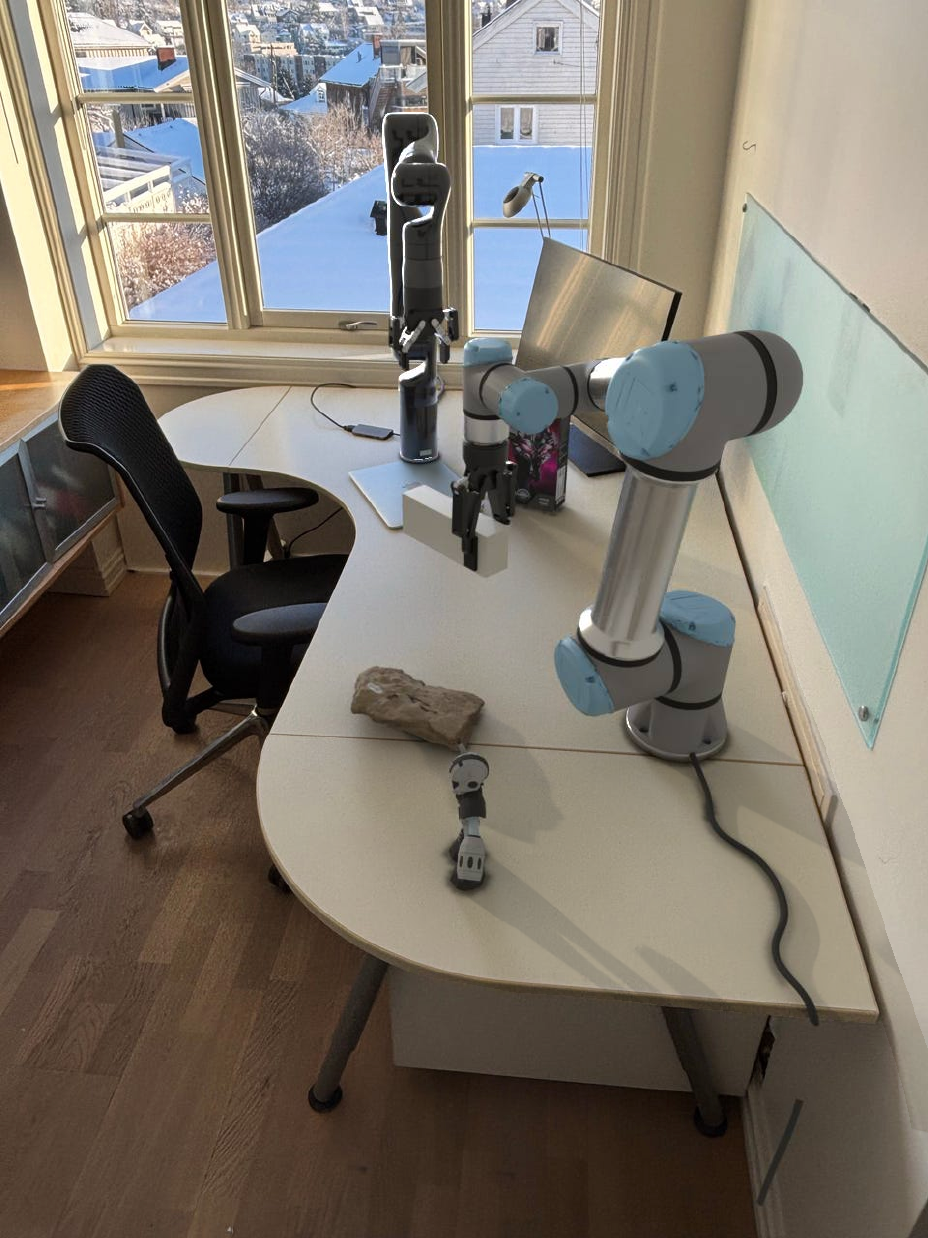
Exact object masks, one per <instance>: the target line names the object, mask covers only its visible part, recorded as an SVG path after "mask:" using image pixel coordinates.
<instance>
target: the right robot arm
mask: <svg viewBox="0 0 928 1238" xmlns="http://www.w3.org/2000/svg"><path fill="white" fill-rule="evenodd" d="M462 359H463V361H462V365H461V369H462V436H463V438H462V440H461V442H462V443H461V444H462V445H461V446H462V449H461V450H462V452H461V453H462V454H461V455H462V456H461V457H462V460H463V463H464V465H465V468H464V471H463V475H462V478H460V479H459V480H457V481H456V480H451V482H450V485H449V487H450V489H451V493H452V499H453V502H452V534H454V535H456V536H458V537H460V538H462V547H461V550H462V552H463V553H464V566H465V567H464V566H463V567H464V568H466V567H467V568H466V569H468V570H469V569H470V570H469V571H471V570H472V571H471V572H473V571H474V572H473V573H475V571H477V566H478V537H477V536H475V530H476V526H477V521H478V517H479V512H480V513H481V508H482V503H483V501H485V500H486V495H487V497H488V502H489V507H490V510H491V515H492V519H494V520H496V521H498V522H500V523H502V524H504V525H506V526H508V527H509V526H510V524H511V523H512V522H511V519H509V518H514V517H515V514H516V503H515V485H516V474H517V470H518V464H515V463H513V462H511V461H508V454H509V439H508V437H509V429H510V426H511V427H513V428H516V429H517V430H519V431H521V432H523V433H526V434H537V433H540V432H542V431H543V430H544V429H545V428H547V427H548V426H550V425H551V424H552V422H553V421H554V419H557V418H562V417H567V416H571V417H572V416H576V415H581V414H582V415H583V414H589V413H605V415H606V416H607V417H608V422H607V423H606V427H607V431H608V434H609V436H610V439H611V441H612V443H613V445H614V446H615V447H616V448H617V453H618V456H619V458H620V459H621V461H622V462H623V463H624V464H625V466H626V468H625V472H624V476H623V481H622V485H621V489H620V493H619V498H618V502H617V505H616V510H615V513H614V514H615V515H614V518H613V524H612V527H611V532H610V536H609V540H608V543H607V545H608V546H607V548H606V553H605V557H604V562H603V566H602V570H601V575H600V579H599V583H598V587H597V591H596V596H595V601H594V603H593V604H590V605H589V606H587V607H586V608H584V610H583V611H582V613H581V614H580V617H579V619H578V624H577V628H576V632H575V634H574V635H573V636H566V637H564V638H562V639H560V640H559V641H557V643H556V644H555V647H554V651H553V662H554V668H555V672H556V675H557V679H558V680H559V683H560V686H561V688H562V690H563V692H564V694H565V696H566V697H567V699H568V700H569V702H570V703H571V705H572V706H573V707H574V708H575V709H576V710H577V711H578V712H579V713H581V714H582V715H584V716H587V717H593V718H596V717H600V716H603V715H607V714H608V715H612V714H614V713H615V712H618V711H622V710H624V709H627V711H626V719H625V728H626V732H627V734H628V736H629V738H630V739H631V741H632V742H634V744H636V745H637V746H638V747H639V748H640V749H641V750H643V751H645V752H646V753H648V754H650V755H651V756H654V757H656V758H659V759H662V760H666V761H670V762H675V763H692V765H693V768H694V770H695V773H696V775H697V778H698V781H699V784H701V788H702V790H703V794H704V796H705V804H706V812H707V817H708V821H709V823H710V825H711V827H712V829H713V830H714V831H715V833H716V834H717V835H718V836H719V837H720V838H721V839H722V840H723V841H724V842H726V843H727V844H728V845H730V846H732V847H733V848H735V849H737V850H738V851H740V852H741V853H743V854H745V855H746V856H747V857H749V858H750V859H752V860H753V861H754V862H755V863H756V864H757V865H758V866H759V867H760V869H762V870H763V872H764V873H765V874H766V876H767V877H768V878H769V880H770V882H771V884H772V885H773V887H774V890H775V892H776V896H777V898H778V902H779V906H780V908H779V909H780V917H779V921H778V923H777V927H776V929H775V931H774V933H773V937H772V941H771V955H772V959H773V961H774V964H775V966H776V968H777V970H778V971H779V973H780V974H781V975H782V977H783V978H784V979H785V980H786V981H787V982H788V984H789V985H790V986H791V987H792V988H793V989H794V990H795V991H796V993H797V994H798V995H799V997H800V998H801V999H802V1001H803V1003H804V1005H805V1007H806V1010H807V1012H808V1016H809V1021H810V1024H811V1025H812V1026H814V1027H816V1028H817V1027H819V1026H820V1021H819V1016H818V1012H817V1009H816V1006H815V1004H814V1002H813V1000H812V997H811V996H810V995H809V993H808V991H807V990H806V989H805V988H804V987H803V985H802V984H801V983H800V982H799V981H798V980H797V978H796V977H795V976H794V975H793V974H792V973H791V972H790V971H789V970H788V968H787V967H786V965H785V963H784V962H783V959H782V957H781V951H780V947H781V940H782V937H783V934H784V932H785V929H786V927H787V924H788V920H789V907H788V902H787V897H786V894H785V892H784V889H783V886H782V884H781V882H780V880H779V879H778V877H777V875H776V874H775V872H774V871H773V870H772V868H771V867H770V866H769V864H768V863H767V862H766V861H765V860H764V859H763V858H762V857H761V856H760V855H759V854H758V853H756V852H755V851H754V850H752V849H750V847H748V846H746V845H744V844H742V843H741V842H739V841H738V840H736V839H734V838H733V837H732V836H731V835H729V834H728V833H727V832H726V831H724V830H723V829H722V827H721V826H720V825H719V822H718V821H717V818H716V816H715V810H714V802H713V796H712V792H711V790H710V787H709V784H708V782H707V780H706V777H705V774H704V772H703V770H702V767H701V765H700V763H699V762H700V761H703V760H706V759H709V758H711V757H714V755H716V754H718V752H720V751H721V750H722V748H723V747H724V744H725V743H726V740H727V739H726V738H727V733H728V721H727V716H726V712H725V708H724V707H725V706H724V701H723V692H724V686H725V682H726V678H727V674H728V669H729V664H730V661H731V655H732V652H733V647H734V644H735V642H736V637H735V632H736V627H737V626H736V625H737V624H736V617H735V615H734V614H733V612H732V610H731V609H730V608H729V607H728V606H727V605H726V604H724V603H723V602H722V601H720V600H719V599H717V598H715V597H712V596H710V595H708V594H705V593H702V592H698V591H695V590H688V589H673V590H668V588H669V586H670V581H671V579H672V575H673V572H674V569H675V565H676V562H677V558H678V556H679V551H680V548H681V545H682V541H683V538H684V536H685V532H686V529H687V525H688V522H689V518H690V516H691V512H692V508H693V505H694V501H695V498H696V495H697V492H698V490H699V485H700V483H702V482H704V481H706V480H709V479H711V478H712V477H713V476H714V475H715V474H716V473H717V471H718V468H719V465H720V462H721V459H722V458H723V457H722V456H723V454H724V450H725V447H726V445H727V444H728V442H729V441H734V440H739V439H742V438H747V437H751V436H755V435H759V434H763V433H764V432H766V431H769V430H772V429H773V428H775V427H776V426H778V425H780V423H782V422H783V421H784V420H785V419H786V418H787V417H788V416H789V415H790V414H791V413H792V412H793V410H794V409H795V407H796V406H797V404H798V402H799V399H800V397H801V394H802V392H803V386H804V371H803V370H804V369H803V364H802V362H801V359H800V357H799V355H798V353H797V351H796V350H795V348H794V347H793V346H792V345H791V344H790V343H789V342H788V341H787V340H786V339H784V338H783V336H780V335H778V334H776V333H774V332H770V331H767V330H761V329H743V330H737V331H733V332H726V333H720V334H714V335H713V334H712V335H709V336H708V335H707V336H702V337H695V338H690V339H683V340H680V339H679V340H678V339H672V340H671V339H669V340H664V341H660V342H657V343H655V344H653V345H649V346H645V347H641V348H638V349H636V350H635V351H633V352H632V353H629V354H628V355H627V356H625V357H603V358H597V359H594V360H588V361H582V362H577V363H572V364H571V363H570V364H565V365H559V366H558V365H557V366H552V367H544V368H539V369H533V370H523V369H521V368H519V367H518V366H516V365H514V364H513V360H514V356H513V346H512V345H511V343H510V342H509V341H508V340H506V339H503V338H500V337H493V336H482V337H476V338H473V339H471V340H469V341H467V342H466V343H465V345H464V347H463V357H462ZM804 1102H805V1101H804V1100H802V1099H798V1098H795V1100H794V1104H793V1106H792V1110H791V1112H790V1116H789V1118H788V1122H787V1124H786V1127H785V1129H784V1131H783V1135H782V1137H781V1139H780V1142H779V1144H778V1146H777V1148H776V1151H775V1153H774V1156H773V1158H772V1161H771V1163H770V1165H769V1168H768V1170H767V1172H766V1175H765V1177H764V1180H763V1182H762V1185H761V1188H760V1190H759V1193H758V1196H757V1198H756V1204H757V1205H758V1206H759V1207H762V1206H764V1203H765V1201H766V1198H767V1195H768V1192H769V1190H770V1188H771V1185H772V1182H773V1180H774V1178H775V1175H776V1173H777V1172H778V1171H777V1170H778V1169H779V1166H780V1164H781V1162H782V1159H783V1157H784V1155H785V1153H786V1150H787V1148H788V1146H789V1144H790V1141H791V1139H792V1136H793V1133H794V1131H795V1128H796V1126H797V1123H798V1120H799V1118H800V1114H801V1111H802V1108H803V1105H804Z"/></svg>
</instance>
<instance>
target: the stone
mask: <svg viewBox="0 0 928 1238" xmlns="http://www.w3.org/2000/svg"><path fill="white" fill-rule="evenodd" d="M353 688H354V693H353V695H352V701H351V703H350V708H349V709H350V710H349V711H350V713H351V714H353V715H357V714H358V715H364V716H367V717H369V719H371V721H372V722H373V723H375V724H379V725H386V726H387V728H391V729H393V730H400V731H403V732H405V733H407V734H409V735H413V736H416V737H419V738H422V739H423V740H425V741H426V742H429V743H432V744H439V745H443V746H446V747H447V748H449V749H450V750H452V751H455V752H461V751H460V748H459V746H458V743H457V740H458V739H460V740H461V742H462V744H463V745H464V747H465V748H466V747H467V745H468V742H469V741H470V738H471V736H472V729H473V727H474V725H475V723H476V721H477V719H478V716H479V715H480V713H481V709H482V708H483V707H484V706H485V704H486V702H485V700H483V699H482V697H479V696H478V695H476V694H474V693H472V692H469V691H465V690H462V691H461V690H456V689H451V688H446V687H443V686H439V685H438V686H437V685H428V684H426V683H425V682H424V681H423V680H422V679H416V678H414V677H412V676H411V674H407V672H405V671H404V670H403V669H402V668H394V667H390V666H389V667H388V666H387V667H384V666H378V665H374V666H371V667H369V668H367V669H365V670H363V671H362V672H361V673H359V674H358V675H357V677H356V680H355V683H354V687H353Z"/></svg>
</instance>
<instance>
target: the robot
mask: <svg viewBox="0 0 928 1238" xmlns="http://www.w3.org/2000/svg"><path fill="white" fill-rule="evenodd" d="M457 743H458V746H459V748H460V751H459V752H460V753H461V754H460V755H458V756H457V757H455V758H454V759H453V760H452V761H451V763H450V764H449V767H448V773H449V774H448V775H449V779H450V780H451V791H452V793H453V794H454V795H455V796H454V797H455V799H456V801H457V803H458V805H459V806H458V807H457V808H458V809H457V810H458V820H459V821H460V823H461V825H462V826H461V830H460V831H459V833H458V836H457V838H456V839H455V841H454V842H453V843H452V845H451V846H450V848H449V850H448V853H449V855H450V857H451V859H452V861H455V862H456V864H455V866H454V868H453V871H452V873H451V876H450V882H451V883H452V884H453V885H454V887H456V888H457V889H459V890H464V891H467V890H468V891H469V890H473V889H475V888H477V887H480V886H482V885H483V883H484V880H485V877H486V873H485V859H486V846H485V842H484V838H482V837H481V835H480V830H479V829H480V824H481V822H480V821H481V820H480V818H482V819H487V806H486V805H487V803H486V800H485V797H484V794H483V793H484V792H483V786H484V783H485V780H487V779H488V777H489V775H490V766H489V763H488V761H487V759H486V758H484V756H482V755H480V754H478V753H476V752H473V751H468V750H467V749H466V746H465V747H464V745H463V744H462V742H461V740H460V739H458V740H457Z"/></svg>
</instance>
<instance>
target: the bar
mask: <svg viewBox="0 0 928 1238" xmlns="http://www.w3.org/2000/svg"><path fill="white" fill-rule="evenodd" d="M401 499H402V501H401V503H402V504H401V505H402V507H401V508H402V532H403V534H405V535H407V536H409V537H410V538H412V539H414V540H416V541H417V542H419V543H421V544H423V545H424V546H427V547H428V548H430V549H432V550H433V551H435V552H437V553H439V554H441V555H442V556H445V557H446V558H448V559H450V560H452V561H454V562H455V563H456V564H459V565H461V566H462V567H464V568H466V569H468V568H467V567H465V566H464V553H463V552H462V550H461V547H462V538H460V537H458V536H456V535H454V534H452V502H453V497H449V496H448V495H446V494H444V493H441V492H440V491H438V490H436V489H434V488H431V487H430V486H428V485H426V484H422V485H420V486H417V487H415V488H412V489H409V490H406V491H404V492H402V493H401ZM475 536H477V537H478V566H477V571H475V572H474V571H472V570H470V569H468V570H469V571H471V572H473V573H475V574H476V575H478V576H480V577H482V578H484V579H488V578H490V577H492V576H494V575H497V574H498V573H501V572H502V571H505V570H507V569H508V566H509V565H508V564H509V562H508V561H509V541H510V539H509V538H510V527H509V525H508V526H507V525H504V524H502V523H500V522H498V521H496V520H495V519H493V517H489V516H487V514H483V513H482V512H481V511H480V512H479V517H478V521H477V526H476V530H475Z"/></svg>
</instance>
